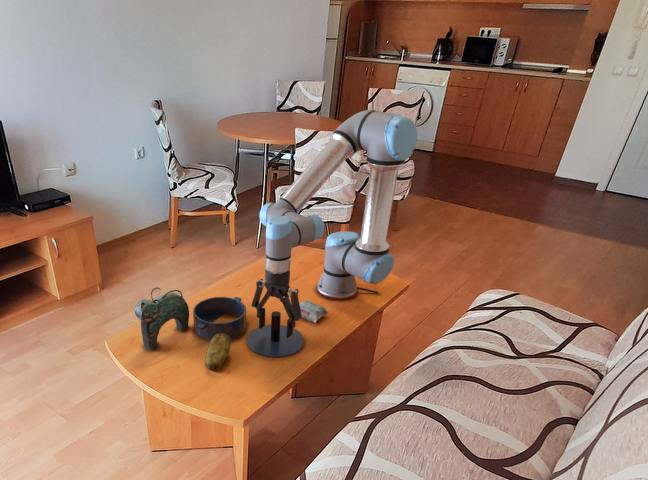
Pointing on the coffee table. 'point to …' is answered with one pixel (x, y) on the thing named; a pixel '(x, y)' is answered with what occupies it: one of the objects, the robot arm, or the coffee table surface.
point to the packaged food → (312, 311)
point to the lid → (274, 339)
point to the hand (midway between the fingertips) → (275, 331)
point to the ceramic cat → (161, 315)
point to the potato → (217, 351)
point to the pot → (213, 310)
